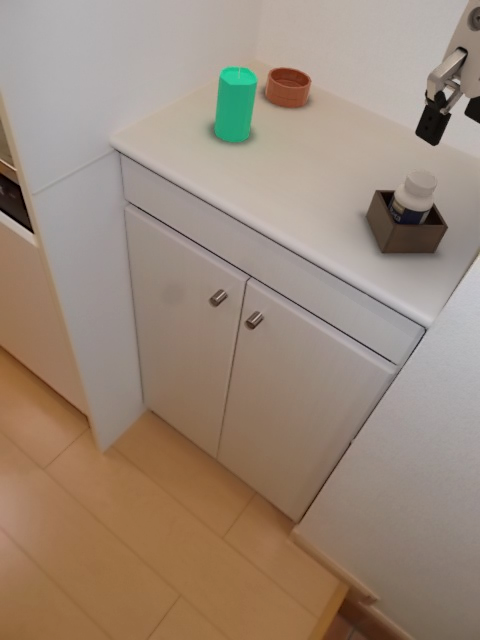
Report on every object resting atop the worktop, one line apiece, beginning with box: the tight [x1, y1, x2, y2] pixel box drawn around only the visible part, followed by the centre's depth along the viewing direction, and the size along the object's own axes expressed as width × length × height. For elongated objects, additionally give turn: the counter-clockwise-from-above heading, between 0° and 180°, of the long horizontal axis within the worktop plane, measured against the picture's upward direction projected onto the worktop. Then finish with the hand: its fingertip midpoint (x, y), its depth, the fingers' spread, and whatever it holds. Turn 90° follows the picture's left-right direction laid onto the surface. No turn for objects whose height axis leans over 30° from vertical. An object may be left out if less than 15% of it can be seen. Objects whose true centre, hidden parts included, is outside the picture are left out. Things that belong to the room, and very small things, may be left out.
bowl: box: [264, 66, 312, 109], centre depth 98 cm, size 8×8×4 cm
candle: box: [213, 66, 259, 143], centre depth 84 cm, size 6×6×12 cm
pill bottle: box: [388, 169, 438, 225], centre depth 73 cm, size 5×5×10 cm
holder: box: [365, 189, 449, 254], centre depth 75 cm, size 8×8×6 cm
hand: (451, 129), depth 64 cm, fingers open, 9 cm apart
